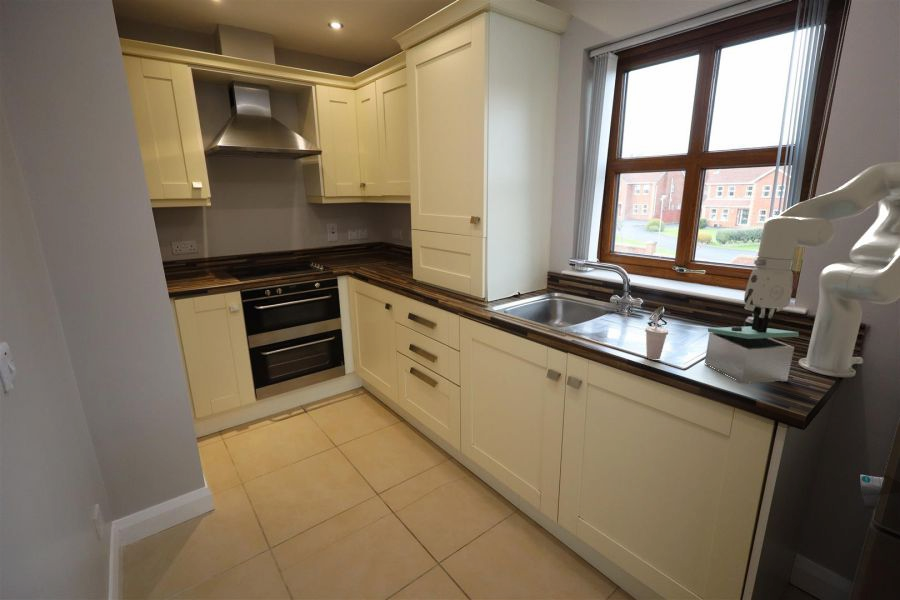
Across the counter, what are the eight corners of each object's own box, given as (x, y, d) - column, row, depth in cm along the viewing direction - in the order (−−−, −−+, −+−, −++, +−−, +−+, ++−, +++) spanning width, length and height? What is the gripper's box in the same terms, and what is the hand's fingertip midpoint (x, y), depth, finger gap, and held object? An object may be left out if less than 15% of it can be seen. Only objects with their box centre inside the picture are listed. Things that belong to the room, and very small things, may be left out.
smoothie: (657, 354, 133) (663, 313, 130) (668, 362, 127) (674, 318, 124) (638, 354, 133) (643, 313, 130) (648, 362, 127) (653, 319, 124)
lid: (753, 330, 125) (753, 323, 125) (798, 336, 111) (798, 328, 111) (707, 332, 124) (708, 324, 123) (748, 338, 109) (748, 330, 109)
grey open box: (745, 361, 128) (751, 331, 125) (787, 381, 114) (794, 347, 112) (704, 363, 126) (709, 332, 124) (741, 383, 113) (747, 349, 110)
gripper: (760, 266, 105) (745, 335, 109) (811, 267, 107) (795, 335, 111) (736, 262, 112) (723, 326, 116) (785, 263, 114) (770, 326, 118)
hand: (758, 330), depth 113 cm, fingers closed
